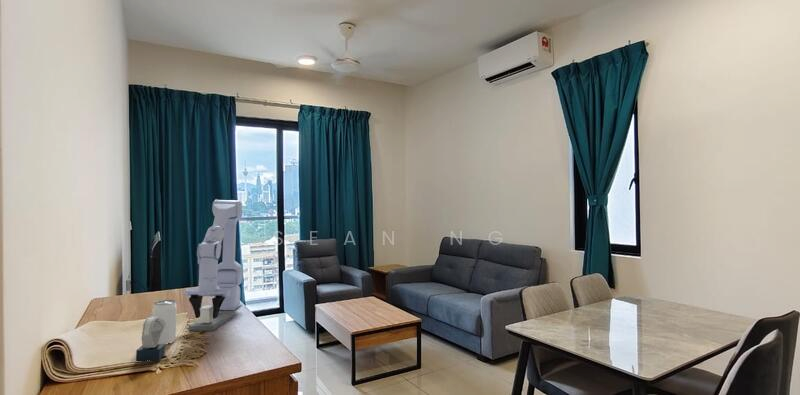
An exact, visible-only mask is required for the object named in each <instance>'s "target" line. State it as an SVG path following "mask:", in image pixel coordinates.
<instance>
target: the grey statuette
mask: <svg viewBox="0 0 800 395" xmlns="http://www.w3.org/2000/svg"><path fill="white" fill-rule="evenodd" d="M165 324H166V323H165V320H164V319H162V318H160V317H152V316H150V317H146V319H145V320H144V323H143V324H142V332H141V343H142V344H141V346H140V347H138V348H137V349H136V352H135V362H136V361H147V360H148V361H149V360H150V361H152V362H160V361H161V360H162V359H163V358H162V356H163V355H164V354H166V353H165V352H166V351H165V350H166V345H165V344H158V342H159V339H160V336H161V334H162V332H163V329H164V327H165ZM164 356H165V355H164ZM164 356H163V357H164ZM161 358H162V359H161Z"/></svg>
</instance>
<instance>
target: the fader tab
mask: <svg viewBox="0 0 800 395" xmlns="http://www.w3.org/2000/svg"><path fill="white" fill-rule="evenodd" d="M199 320H200V323H210V322H211V321H213V305H209V304H208V305H203V306H201V308H200V317H199Z"/></svg>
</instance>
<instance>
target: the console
mask: <svg viewBox="0 0 800 395" xmlns="http://www.w3.org/2000/svg"><path fill="white" fill-rule="evenodd" d="M234 317H235V312H233V311H219V313H218V317H217V318H215V319H213V321H211V322H210V323H200V319H198V320H197V321H194V322H192V323H191V324H189V325H188V331H201V332H202V331H204V332H211V331H212V332H214V331H215V330H217V329H218V328H219V327H221V326H223V325H224V324H225V323H226V322H228V321H230V320H231V319H232V318H234Z"/></svg>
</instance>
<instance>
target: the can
mask: <svg viewBox="0 0 800 395" xmlns="http://www.w3.org/2000/svg"><path fill="white" fill-rule="evenodd" d="M177 307H178V306H177V303H176V301H175V300H173V299H165V300H157V301H154V303H153V306H152V309H151V317H160V318H162V319H164V320H165V323H166V324H165V327H164V329H163V332H162V334H161V336H160V339H159V342H158V344H166V343H170V342H172V341H174V340H175V341H176V335H177V334H176V333H177V332H176V331H177V312H178V311H177V310H178V308H177ZM175 341H174V342H175ZM170 344H171V343H170Z"/></svg>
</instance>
